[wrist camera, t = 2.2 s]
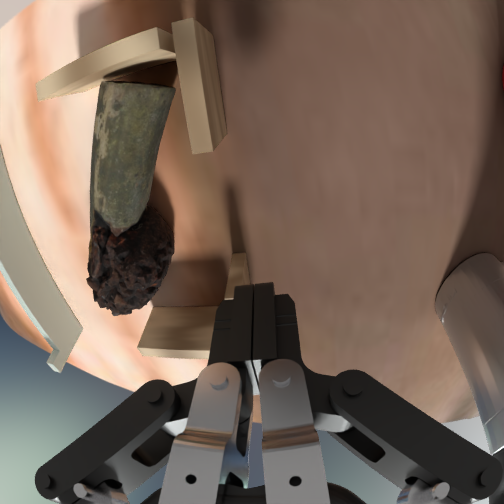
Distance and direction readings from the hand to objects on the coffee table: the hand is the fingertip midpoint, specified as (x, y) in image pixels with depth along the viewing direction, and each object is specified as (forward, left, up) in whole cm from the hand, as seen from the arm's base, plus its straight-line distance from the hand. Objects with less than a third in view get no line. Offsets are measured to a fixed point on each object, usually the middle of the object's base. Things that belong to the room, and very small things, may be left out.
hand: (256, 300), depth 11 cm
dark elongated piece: (+9, -1, -10) cm, 13 cm away
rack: (+24, -1, -9) cm, 26 cm away
